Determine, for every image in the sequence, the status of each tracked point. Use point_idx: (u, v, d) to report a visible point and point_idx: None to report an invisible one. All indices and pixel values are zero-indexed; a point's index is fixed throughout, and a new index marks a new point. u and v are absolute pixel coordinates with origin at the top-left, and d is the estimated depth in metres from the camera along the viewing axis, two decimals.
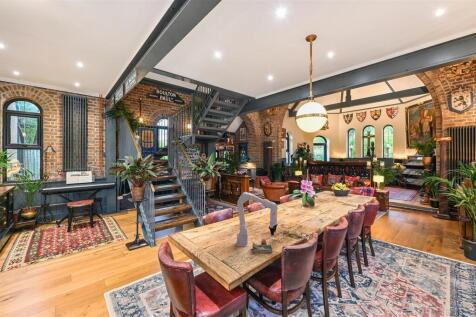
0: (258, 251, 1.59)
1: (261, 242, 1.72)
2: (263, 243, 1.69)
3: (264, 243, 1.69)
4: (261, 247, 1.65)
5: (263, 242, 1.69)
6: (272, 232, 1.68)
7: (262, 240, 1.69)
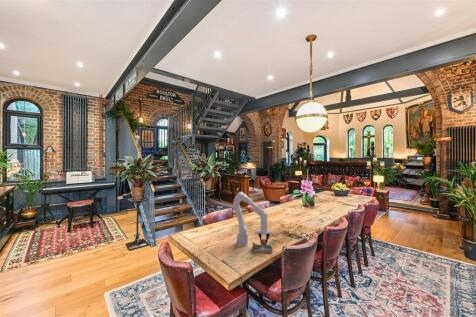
0: (258, 251, 1.59)
1: None
2: (263, 243, 1.69)
3: (264, 243, 1.69)
4: (261, 247, 1.65)
5: (263, 242, 1.69)
6: (260, 239, 1.70)
7: (262, 240, 1.69)
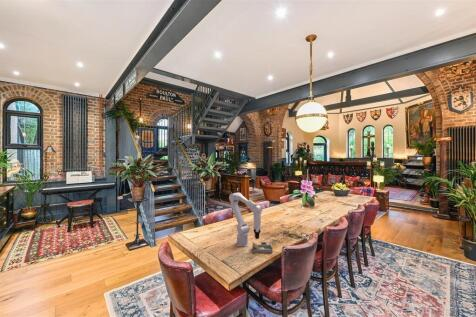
0: (258, 251, 1.59)
1: (261, 242, 1.72)
2: None
3: None
4: (261, 247, 1.65)
5: (259, 236, 1.62)
6: (257, 235, 1.60)
7: None
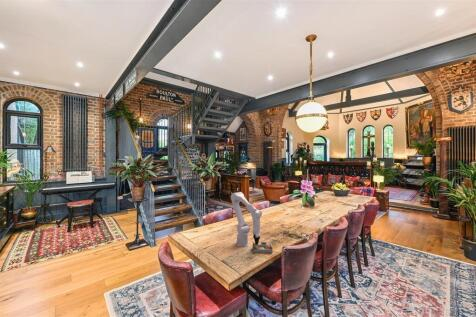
0: (258, 251, 1.59)
1: (261, 242, 1.72)
2: None
3: None
4: (261, 247, 1.65)
5: (269, 245, 1.61)
6: (257, 241, 1.58)
7: (267, 246, 1.61)
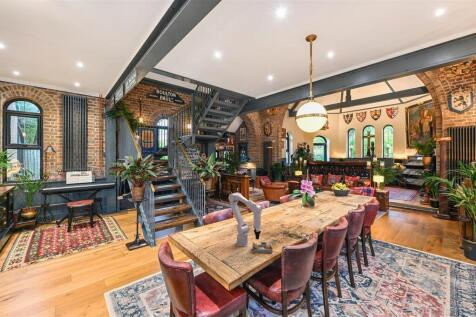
0: (258, 251, 1.59)
1: (261, 242, 1.72)
2: (269, 246, 1.61)
3: None
4: (261, 247, 1.65)
5: (268, 246, 1.61)
6: (257, 236, 1.59)
7: (267, 247, 1.60)
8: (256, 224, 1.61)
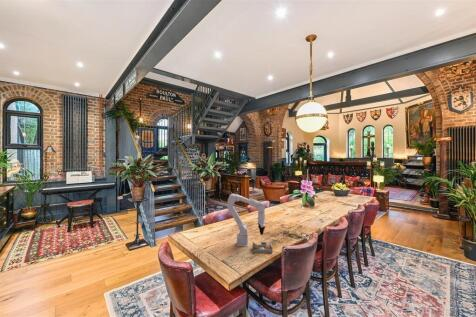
0: (258, 251, 1.59)
1: (261, 242, 1.72)
2: (269, 247, 1.60)
3: (269, 246, 1.61)
4: (261, 247, 1.65)
5: (268, 247, 1.60)
6: (262, 231, 1.68)
7: (266, 248, 1.60)
8: (260, 220, 1.70)
